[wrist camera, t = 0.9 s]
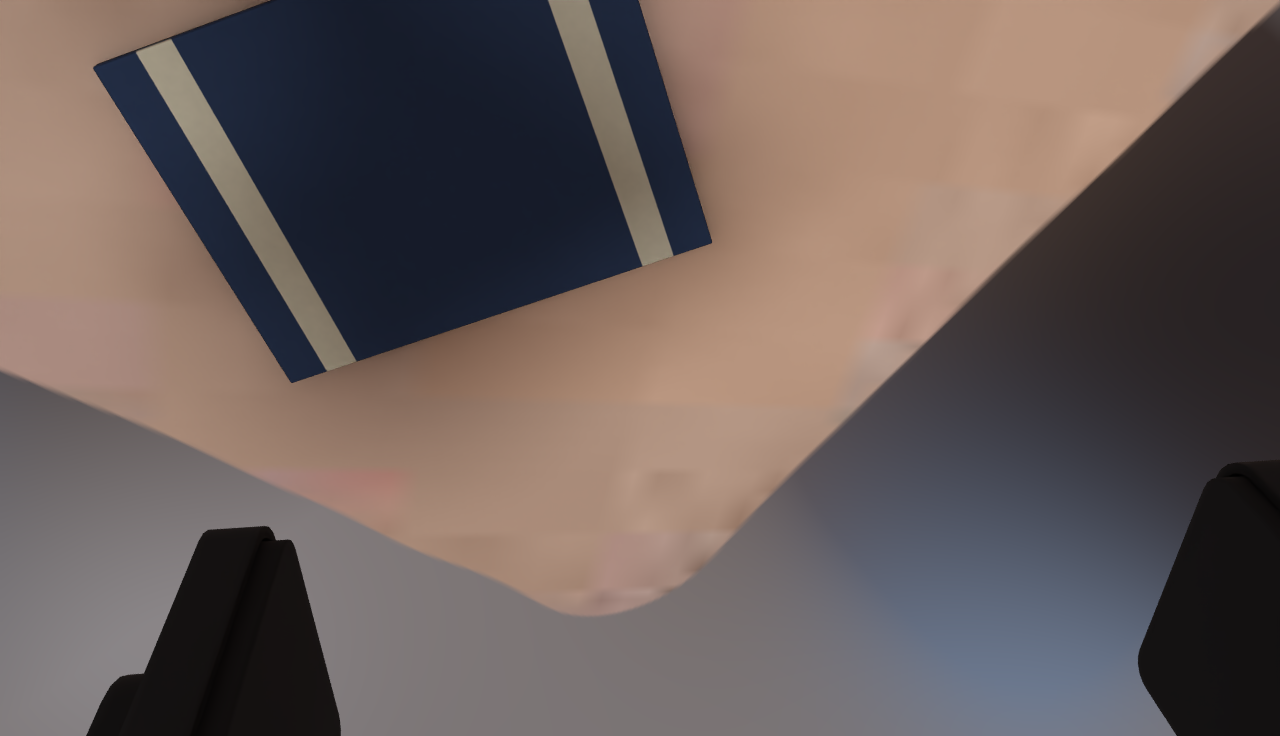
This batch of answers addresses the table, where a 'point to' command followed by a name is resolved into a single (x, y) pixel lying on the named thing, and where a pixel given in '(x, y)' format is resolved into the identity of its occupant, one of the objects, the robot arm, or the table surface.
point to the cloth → (412, 160)
